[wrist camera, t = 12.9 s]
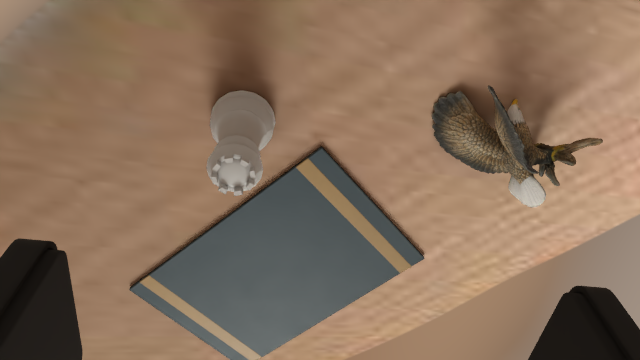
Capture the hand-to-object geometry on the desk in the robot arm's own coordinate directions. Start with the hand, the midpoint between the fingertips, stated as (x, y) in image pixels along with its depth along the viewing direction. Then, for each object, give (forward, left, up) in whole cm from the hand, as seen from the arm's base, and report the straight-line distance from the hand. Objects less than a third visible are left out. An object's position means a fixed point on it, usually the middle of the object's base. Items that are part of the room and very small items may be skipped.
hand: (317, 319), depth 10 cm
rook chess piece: (+3, +8, -26) cm, 27 cm away
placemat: (-1, +22, -26) cm, 34 cm away
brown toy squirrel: (-15, +6, -26) cm, 31 cm away
